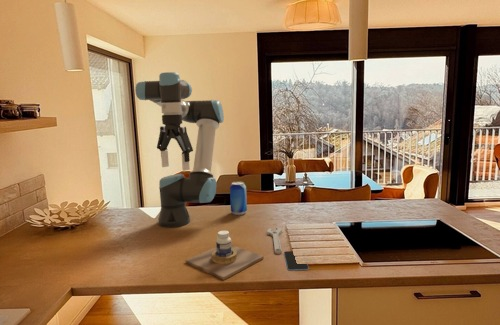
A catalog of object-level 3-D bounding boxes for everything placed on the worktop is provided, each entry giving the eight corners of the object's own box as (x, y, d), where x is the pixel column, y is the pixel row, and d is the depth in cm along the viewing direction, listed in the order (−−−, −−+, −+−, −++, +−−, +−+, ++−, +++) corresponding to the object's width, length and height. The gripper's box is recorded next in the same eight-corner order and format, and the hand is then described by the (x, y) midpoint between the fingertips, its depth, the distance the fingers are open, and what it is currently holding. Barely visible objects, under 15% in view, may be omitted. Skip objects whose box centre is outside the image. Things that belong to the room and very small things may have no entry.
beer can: (249, 210, 183) (248, 181, 180) (243, 215, 175) (242, 185, 172) (234, 209, 185) (233, 180, 183) (228, 214, 178) (227, 184, 175)
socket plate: (185, 262, 124) (185, 254, 124) (225, 245, 139) (225, 238, 138) (223, 280, 111) (223, 271, 110) (263, 258, 125) (263, 250, 125)
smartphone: (302, 250, 131) (309, 268, 116) (302, 252, 131) (309, 271, 116) (283, 251, 131) (287, 269, 116) (283, 253, 131) (287, 271, 116)
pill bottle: (217, 255, 127) (216, 230, 126) (231, 254, 128) (230, 229, 126) (216, 261, 122) (215, 235, 120) (232, 260, 122) (230, 234, 121)
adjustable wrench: (282, 255, 129) (282, 250, 129) (265, 255, 130) (265, 250, 129) (281, 230, 154) (281, 227, 153) (267, 230, 154) (267, 227, 154)
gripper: (145, 114, 137) (149, 166, 141) (183, 114, 121) (187, 173, 124) (161, 113, 143) (165, 164, 146) (200, 113, 126) (203, 170, 130)
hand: (175, 168), depth 135 cm, fingers open, 13 cm apart
